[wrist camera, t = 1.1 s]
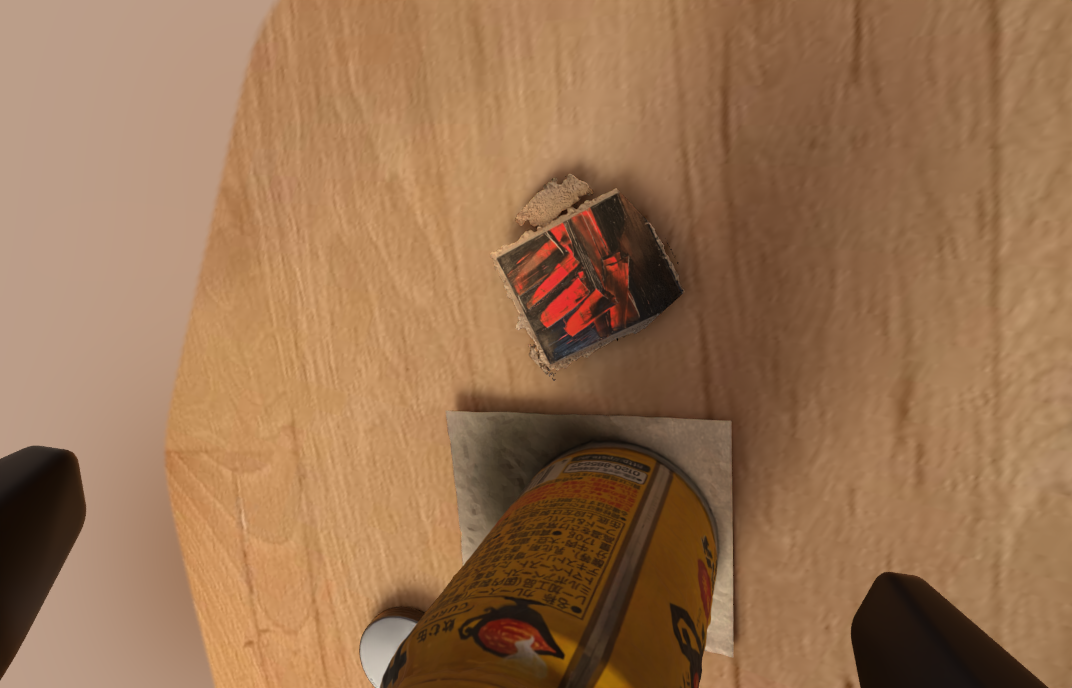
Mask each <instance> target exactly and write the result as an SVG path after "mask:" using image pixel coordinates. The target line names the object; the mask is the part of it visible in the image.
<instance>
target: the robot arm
mask: <svg viewBox="0 0 1072 688" xmlns="http://www.w3.org/2000/svg"><path fill="white" fill-rule="evenodd" d="M85 516H86V503H85V498H84V491H83V486H82V480H81V475H80V468H79V463H78V459H77V457H76V456H75V454H74V453H73V452H71V451H69V450H65V449H58V448H51V447H44V446H30V447H27V448H24V449H21V450H19V451H17V452H15V453H13V454H10V455H8V456H6V457H3V458H1V459H0V680H1V678H2V677H3V675H4V674H5V672H6V670H7V669H8V667H9V665H10V664H11V662H12V661H13V659H14V657H15V655H16V654H17V652H18V650H19V648H20V646H21V644H22V643H23V641H24V639H25V637H26V635H27V634H28V632H29V630H30V627H31V626H32V624H33V622H34V620H35V618H36V616H37V614H38V612H39V611H40V609H41V606H42V605H43V603H44V601H45V599H46V597H47V595H48V593H49V591H50V589H51V587H52V586H53V584H54V581H55V580H56V578H57V576H58V574H59V572H60V570H61V568H62V566H63V564H64V562H65V560H66V559H67V556H68V555H69V553H70V551H71V549H72V547H73V545H74V543H75V541H76V539H77V538H78V536H79V533H80V531H81V529H82V527H83V524H84V521H85ZM851 639H852V646H853V651H854V656H855V661H856V666H857V672H858V677H859V682H860V687H861V688H1048V687H1047V686H1046V685H1045V684H1044V683H1043V682H1041V681H1040V680H1039V679H1038V678H1037V677H1036V676H1034V675H1033V674H1032V673H1031V672H1030V671H1029V670H1027V669H1026V668H1025V667H1024V666H1023V665H1022V664H1021V663H1019V662H1018V661H1017V660H1016V659H1015V658H1014V657H1012V656H1011V655H1010V654H1009V653H1008V652H1007V651H1006V650H1004V649H1003V648H1002V647H1001V646H1000V645H999V644H997V643H996V642H995V641H994V640H993V639H992V638H990V637H989V636H988V635H987V634H986V633H985V632H984V631H982V630H981V629H980V628H979V627H978V626H977V625H975V624H974V623H973V622H972V621H971V620H970V619H969V618H967V617H966V616H965V615H964V614H963V613H962V612H960V611H959V610H958V609H957V608H956V607H955V606H953V605H952V604H951V603H950V602H949V601H948V600H947V599H945V598H944V597H943V596H942V595H941V594H940V593H938V592H937V591H936V590H935V589H934V588H933V587H932V586H930V585H929V584H928V583H927V582H926V581H924V580H923V579H921V578H920V577H917V576H914V575H907V574H900V573H894V572H884V573H882V574H881V575H879V576H878V577H877V578H876V580H875V581H874V583H873V585H872V586H871V588H870V590H869V592H868V593H867V595H866V597H865V599H864V600H863V602H862V604H861V606H860V607H859V609H858V611H857V612H856V614H855V616H854V618H853V622H852V627H851Z"/></svg>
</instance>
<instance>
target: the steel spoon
mask: <svg viewBox="0 0 1072 688" xmlns="http://www.w3.org/2000/svg"><path fill="white" fill-rule="evenodd" d="M424 614H425V613H424V612H422V611H420V610H416V609H413V608H408V607H396V608H391V609H388V610H386V611H383V612H382V613H380V614H379V615H378V616H377V617H375V619H374V620H373V621H372V622H371V623H370V624H369V625H368V626H367V628H366V629H365V631H364V632H363V635H362V637H361V641H360V649H359V652H360V660H361V664H362V667H363V670H364V672H365V674H366V676H367V677H368V679H369V681H370V682H371V683H372V685H373V686H374V687H375V688H380V685H381V681H382V677H383V675H384V673H385V671H386V669H387V667H388V665H389V663H390V661H391V659H392V657H393V656H394V654H395V653H396V651H397V649H398V647H399V646H400V644H401V643H402V641H403V640H404V639H405V638H406V637H407V636H408V635H409V633H410V632H411V631H412V629H413V628H414V627H415V625H416V624H417V623H418V622H419V621H420V619H421V618H422V617H423V615H424Z"/></svg>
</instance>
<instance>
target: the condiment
mask: <svg viewBox="0 0 1072 688" xmlns="http://www.w3.org/2000/svg"><path fill="white" fill-rule="evenodd" d="M446 418H447V426H448V433H449V437H450V441H451V453H452V460H453V469H454V479H455V487H456V493H457V503H458V515H459V525H460V530H461V532H462V537H461V544H462V560H463V566H462V568H461V569H460V570H459V572H458V573H457V574H455V575H454V577H453V579H452V580H451V582H450V583H449V584H448V586H447V587H446V588H445V589H444V591H443V592H442V593H441V595H440V596H439V597H438V598H437V599H436V601H435V602H434V603H433V604H432V606H431V607H430V608H429V609H428V610H427V611H426V613H425V614H424V615H423V617H422V618H421V619H420V621H419V622H418V623H417V624H416V625H415V627H414V628H413V629H412V631H411V632H410V633H409V635H408V636H407V637H406V638H405V639H404V640H403V641H402V643H401V644H400V646H399V647H398V649H397V651H396V653H395V654H394V656H393V657H392V659H391V661H390V663H389V665H388V667H387V669H386V671H385V673H384V675H383V677H382V681H381V685H380V688H699V682H700V679H701V673H702V656H703V653H704V651H708V652H713V653H719V654H723V655H726V656H729V657H733V523H732V475H731V474H732V426H731V421H723V420H703V419H682V418H665V417H653V418H648V417H640V416H620V415H616V416H606V415H577V414H569V415H546V414H538V413H516V412H466V411H446Z"/></svg>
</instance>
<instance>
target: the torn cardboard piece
mask: <svg viewBox="0 0 1072 688" xmlns="http://www.w3.org/2000/svg"><path fill="white" fill-rule="evenodd" d="M586 191H587V192H588V193H591V194H593V190H592V189H591V188H590V187H588V184H587V183H586V182H584V181H581V180H579V179H577V178H576V177H575V176H574V175H572V174H568V176H567V180H564V181H563V184H557V178H553V179H552V182H548V184H547V185H546V184H545V185H544V190H542V191H541V192H539V191H538V192H537V194H536V195H535V196H534V197H533V198H532V199H531V200H530V201H529V203H528V204H527V205H526V206H525V207H524V208H523V209H522V210H521V211H520V213H519V214H518V215H517V217H516V218H515V221H516V222H517V223H519V224H520V225H521V226H522V225H523V224H524V223H525V221H526V220H529V222H530V224H531V225H532V226H537V225H539V226H538V227H537V231H535V232H533V231H532V230H529V231H525V232H524V234H523V235H522V236H521V237H520V239H519V240H518V241H517V242H516V243H511V244H510V245H504V246H500V248H499V249H498V250H497V251H496V252H492V253H491V254H490V257H491V258H492V259H493V261H494V264H495V266H494V269H495V270H498V271H499V276H500V278H501V279H502V281H503V282H504V288H505V289H506V290H507V297H508V298H510V299H512V300H513V302H514V304H515V307H516V309H517V311H518V313H519V314H520V315H519V316H518V318H519V321H518V323H517V326H516V329H517V330H520V329H521V328H525V329H526V330H527V333H528V335H530V337H531V338H532V339H533V341H534V342H535V345H533V346H531V344H529V345H528V347H529V346H530V353H529V356H530V357H531V358H532V360H533V361H535V363H536V364H537V365H538V366H539V367H540V368H542V370H543V371H544V372H545V373H546V375H547V374H548V372H547V370H548V371H550V370H552V369H556V370H557V371H558V370H560V369H561V368H562V367H563V368H567V367H568V366H569V365H570V364H571V362H572V361H577V360H578V358H580V357H582V356H583V357H585V358H588V357H589V356H590V355H591V354H592V353H593V352H594V351H596V350H597V349H599V348H602V347H604V346H606V345H607V344H609V343H610V342H612V341H613V340H615V339H617V341H618V338H621V337H623V336H624V337H625V335H629V334H631V333H635V334H636V333H638V332H640V330H642V329H645V328H646V327H647V326H648V325H649V324H650V323H651V322H652V321H653V320H654V319H655V318H656V317H658V316H659V315H660V314H661V313H662V312H663V311H664V310H665V309H666V308H667V307H668V306H669V305H671V304H672V303H673V302H674V301H675V300H676V299H677V298H678V297H679V296H680V295H681V294H683V293H684V289H683V288H682V286H681V284H680V282H679V274H677V273H676V271H675V268H674V265H673V263H672V262H671V261H670V260H669V256H668V255H666V253H665V249H664V244H663V243H662V241H661V240H660V239H659V237H658V236H657V235H656V232H655V228H654V227H653V226H652V225H651V224H650V223H649V222H648V221H647V220H646V219H645V218H644V217H643V216H642V214H641V213H640V212H639V211H638V210H637V209H636V208H635V207H634V206H633V205H632V204H631V203H630V202H629V201H628V200H627V199H626V198H625V197H624V196H623V195H622V194H621V193H620V192H619V191H618V189H616V188H614V189H613V190H612V191H609V192H608V193H606V194H602V195H601V196H599V197H598V198H597V197H596V198H594V199H593V200H592V201H589V200H587V201H585V202H584V204H581V205H580V206H579V208H578V209H575V208H573V207H571V206H573V204H575V203H577V201H580V200H581V199H579V198H578V196H583V195H587V194H585V193H586ZM588 195H589V194H588ZM566 209H568V213H567V214H566V215H561V216H560V217H557V216H558V215H559V214H561V211H563V210H566ZM556 217H557V219H556V220H554V218H556ZM667 244H668V240H667ZM669 247H670V246H669ZM670 250H672V249H670ZM672 254H673V252H672ZM674 257H675V256H674ZM675 259H676V258H675ZM678 263H679V262H677V264H678ZM535 346H537V349H538V352H536V351H535ZM547 368H548V369H547ZM552 374H553V372H550V374H549V377H550V375H552ZM554 374H556V373H554ZM554 374H553V376H554ZM552 379H553V378H552ZM555 380H556V379H553V381H555Z"/></svg>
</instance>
